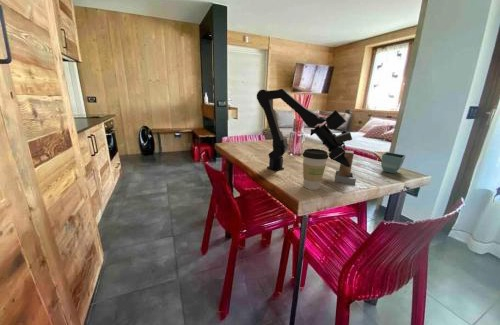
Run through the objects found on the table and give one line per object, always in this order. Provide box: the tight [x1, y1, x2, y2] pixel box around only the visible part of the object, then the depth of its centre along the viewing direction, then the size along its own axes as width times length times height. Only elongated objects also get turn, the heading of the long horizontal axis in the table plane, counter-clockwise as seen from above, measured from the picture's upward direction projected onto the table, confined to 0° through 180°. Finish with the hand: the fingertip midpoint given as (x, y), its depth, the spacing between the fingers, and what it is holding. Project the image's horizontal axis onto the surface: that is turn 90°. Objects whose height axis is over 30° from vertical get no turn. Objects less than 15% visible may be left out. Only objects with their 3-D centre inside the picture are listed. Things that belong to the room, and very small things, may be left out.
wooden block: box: [338, 149, 355, 177], centre depth 97 cm, size 4×4×13 cm
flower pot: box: [381, 151, 406, 174], centre depth 110 cm, size 9×9×9 cm
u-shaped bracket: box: [334, 169, 357, 185], centre depth 98 cm, size 8×9×2 cm
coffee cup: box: [302, 148, 329, 191], centre depth 87 cm, size 10×10×15 cm
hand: (349, 163), depth 96 cm, fingers open, 9 cm apart
